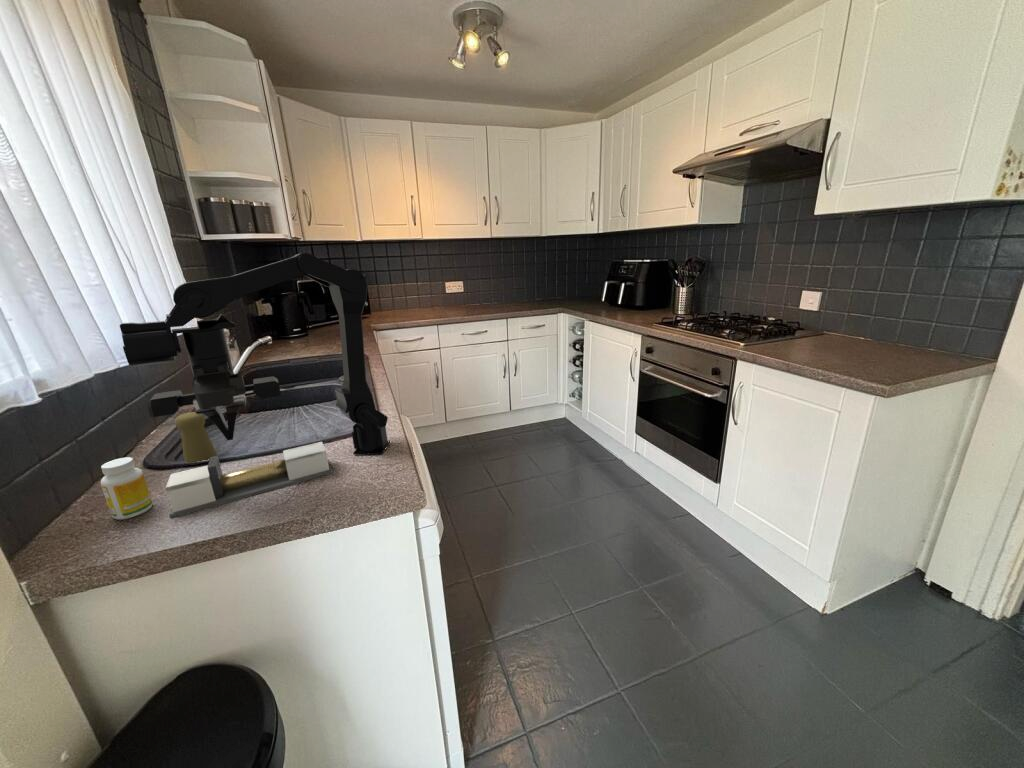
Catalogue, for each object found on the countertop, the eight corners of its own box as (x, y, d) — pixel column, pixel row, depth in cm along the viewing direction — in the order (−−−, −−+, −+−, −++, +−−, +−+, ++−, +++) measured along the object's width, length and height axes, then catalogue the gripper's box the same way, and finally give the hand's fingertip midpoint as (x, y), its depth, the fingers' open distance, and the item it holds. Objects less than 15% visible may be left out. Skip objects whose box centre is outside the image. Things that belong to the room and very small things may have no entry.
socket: (217, 487, 77) (211, 464, 76) (215, 500, 72) (209, 477, 71) (178, 497, 74) (171, 473, 73) (173, 512, 69) (165, 487, 68)
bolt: (290, 467, 83) (284, 440, 81) (292, 477, 79) (286, 449, 77) (187, 494, 74) (178, 464, 73) (184, 506, 70) (174, 475, 69)
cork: (204, 465, 88) (191, 418, 85) (177, 466, 88) (162, 419, 85) (223, 453, 93) (211, 408, 90) (197, 454, 93) (185, 409, 90)
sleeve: (325, 459, 86) (321, 441, 85) (329, 469, 82) (325, 450, 81) (287, 469, 83) (283, 450, 82) (289, 480, 78) (284, 460, 77)
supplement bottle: (104, 521, 68) (85, 471, 66) (129, 504, 74) (113, 456, 71) (138, 518, 69) (120, 468, 66) (161, 501, 74) (145, 454, 71)
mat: (327, 460, 87) (326, 457, 87) (332, 473, 82) (332, 470, 82) (176, 499, 74) (175, 496, 74) (170, 518, 69) (169, 514, 68)
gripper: (126, 374, 58) (156, 471, 63) (273, 356, 68) (291, 441, 72) (143, 361, 67) (168, 446, 72) (270, 346, 77) (286, 423, 81)
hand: (230, 439), depth 74 cm, fingers closed
